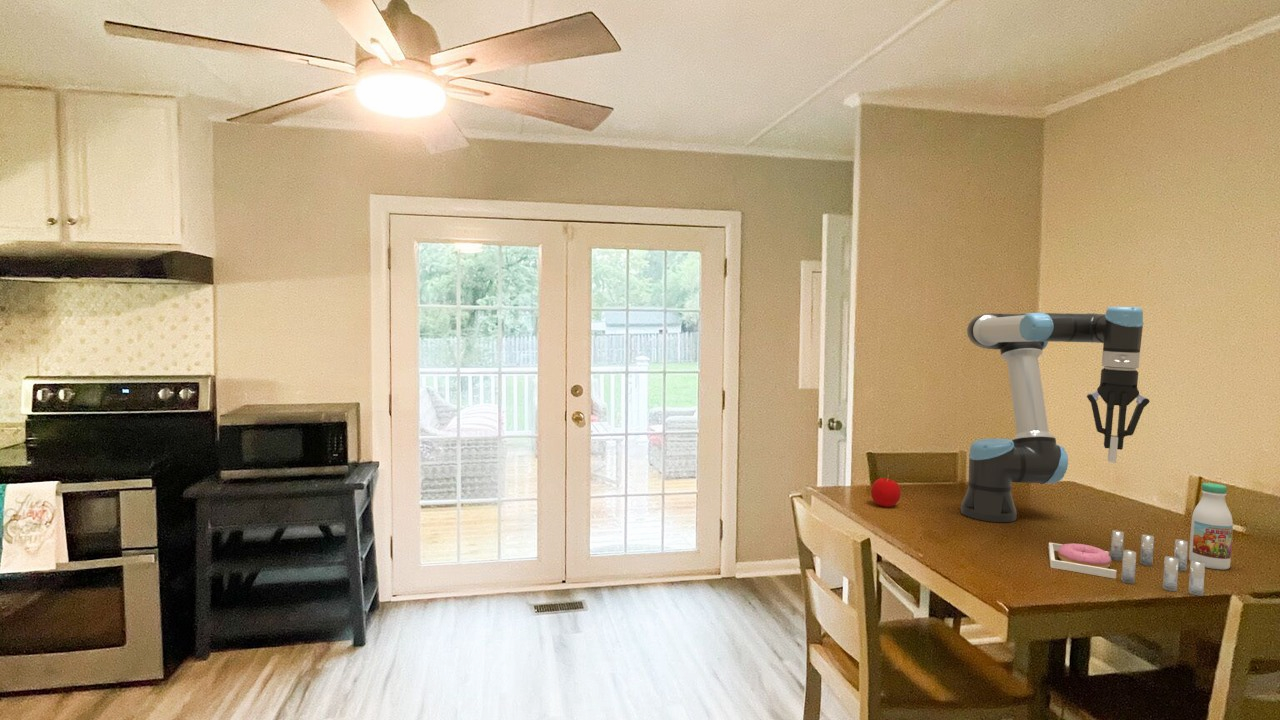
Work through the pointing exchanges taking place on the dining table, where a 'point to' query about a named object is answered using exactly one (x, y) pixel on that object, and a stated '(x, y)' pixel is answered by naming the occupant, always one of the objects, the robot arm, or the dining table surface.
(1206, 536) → the milk bottle
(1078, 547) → the doughnut
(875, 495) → the fruit
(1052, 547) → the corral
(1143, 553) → the spacers
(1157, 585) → the dining table surface
